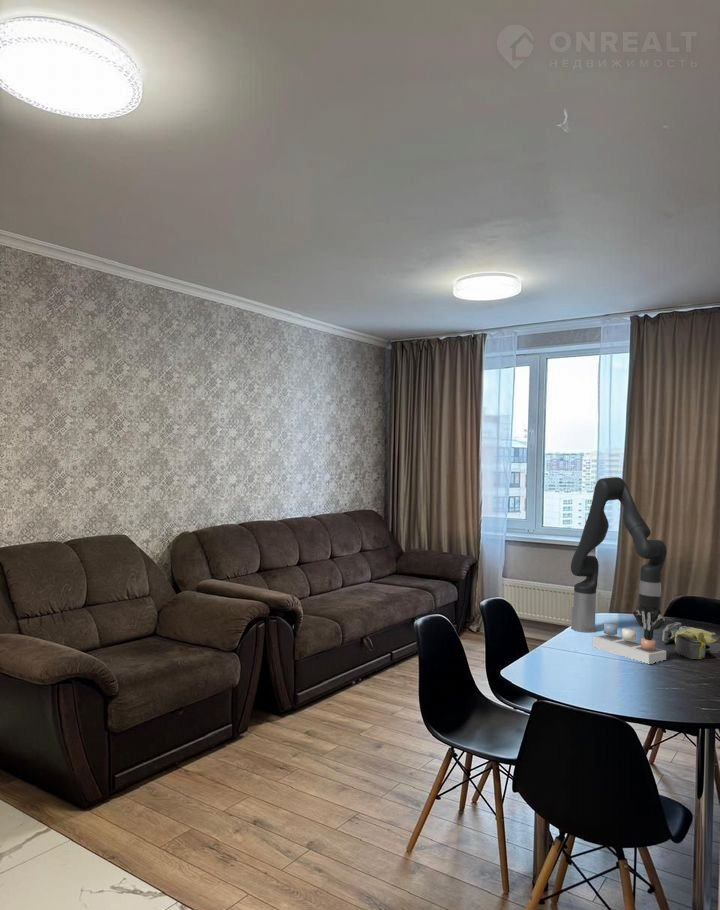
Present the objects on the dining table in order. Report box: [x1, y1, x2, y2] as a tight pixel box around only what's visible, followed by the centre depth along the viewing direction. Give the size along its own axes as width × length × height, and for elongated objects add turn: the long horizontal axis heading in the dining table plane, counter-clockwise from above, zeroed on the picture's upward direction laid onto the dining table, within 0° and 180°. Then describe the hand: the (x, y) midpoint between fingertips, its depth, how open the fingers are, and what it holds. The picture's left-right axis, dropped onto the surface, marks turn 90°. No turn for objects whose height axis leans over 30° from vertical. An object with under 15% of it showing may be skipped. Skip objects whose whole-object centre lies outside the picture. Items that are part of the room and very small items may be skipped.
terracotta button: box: [640, 637, 657, 651], centre depth 241 cm, size 5×5×4 cm
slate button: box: [603, 622, 618, 636], centre depth 256 cm, size 5×5×4 cm
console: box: [592, 634, 667, 664], centre depth 248 cm, size 25×10×4 cm, turn 30°
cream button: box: [621, 627, 637, 642], centre depth 248 cm, size 5×5×4 cm
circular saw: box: [661, 621, 720, 660], centre depth 256 cm, size 10×30×25 cm
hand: (648, 639), depth 241 cm, fingers closed
